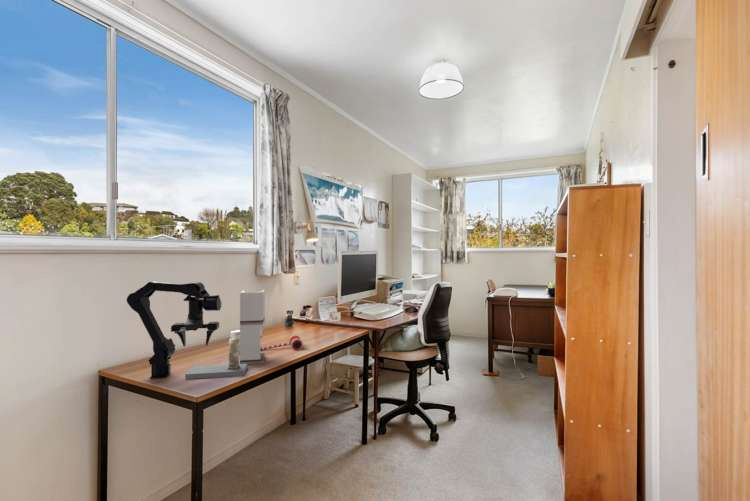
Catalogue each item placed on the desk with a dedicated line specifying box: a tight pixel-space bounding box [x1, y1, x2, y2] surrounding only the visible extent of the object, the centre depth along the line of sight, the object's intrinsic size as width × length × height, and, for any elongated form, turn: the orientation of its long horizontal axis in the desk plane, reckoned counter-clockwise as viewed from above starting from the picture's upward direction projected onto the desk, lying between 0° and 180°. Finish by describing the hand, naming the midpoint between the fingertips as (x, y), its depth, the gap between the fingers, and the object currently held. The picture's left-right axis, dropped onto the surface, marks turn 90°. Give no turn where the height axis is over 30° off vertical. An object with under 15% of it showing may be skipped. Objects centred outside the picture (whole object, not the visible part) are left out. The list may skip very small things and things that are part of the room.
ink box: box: [230, 329, 240, 354], centre depth 202 cm, size 9×5×12 cm, turn 138°
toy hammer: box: [260, 334, 304, 352], centre depth 209 cm, size 23×12×6 cm, turn 110°
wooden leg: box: [228, 338, 240, 370], centre depth 169 cm, size 4×4×15 cm
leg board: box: [184, 363, 248, 380], centre depth 167 cm, size 24×11×2 cm, turn 101°
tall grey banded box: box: [239, 289, 266, 365], centre depth 186 cm, size 11×11×35 cm
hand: (195, 345), depth 164 cm, fingers open, 9 cm apart
